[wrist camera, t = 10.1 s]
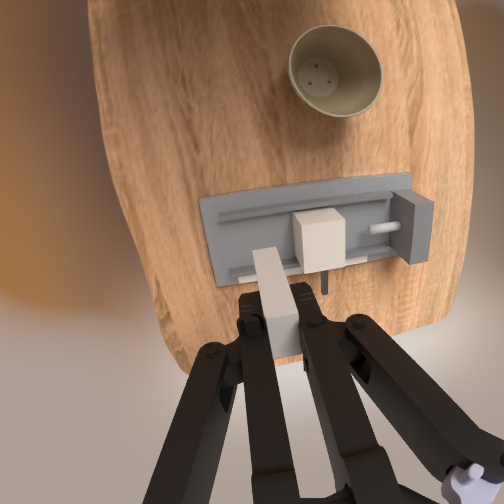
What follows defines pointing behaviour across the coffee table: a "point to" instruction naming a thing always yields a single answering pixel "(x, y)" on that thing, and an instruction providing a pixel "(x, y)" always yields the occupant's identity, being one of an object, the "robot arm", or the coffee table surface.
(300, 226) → the cream block
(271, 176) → the coffee table surface
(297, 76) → the flower pot
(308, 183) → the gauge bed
